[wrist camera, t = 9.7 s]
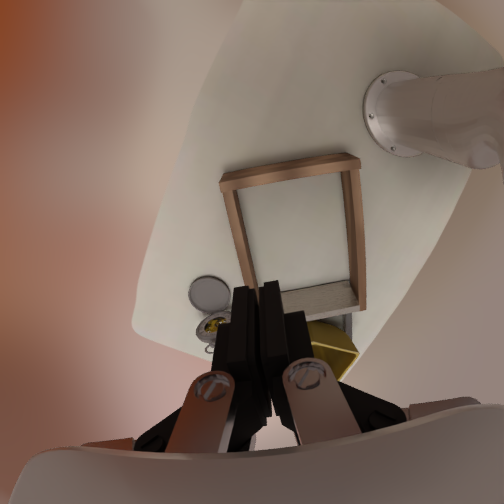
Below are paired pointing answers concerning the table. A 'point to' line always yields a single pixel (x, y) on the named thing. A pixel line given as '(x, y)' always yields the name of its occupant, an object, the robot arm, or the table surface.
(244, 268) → the frame
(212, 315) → the pocket watch
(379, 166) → the table surface
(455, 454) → the robot arm
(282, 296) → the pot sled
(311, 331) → the flower pot
